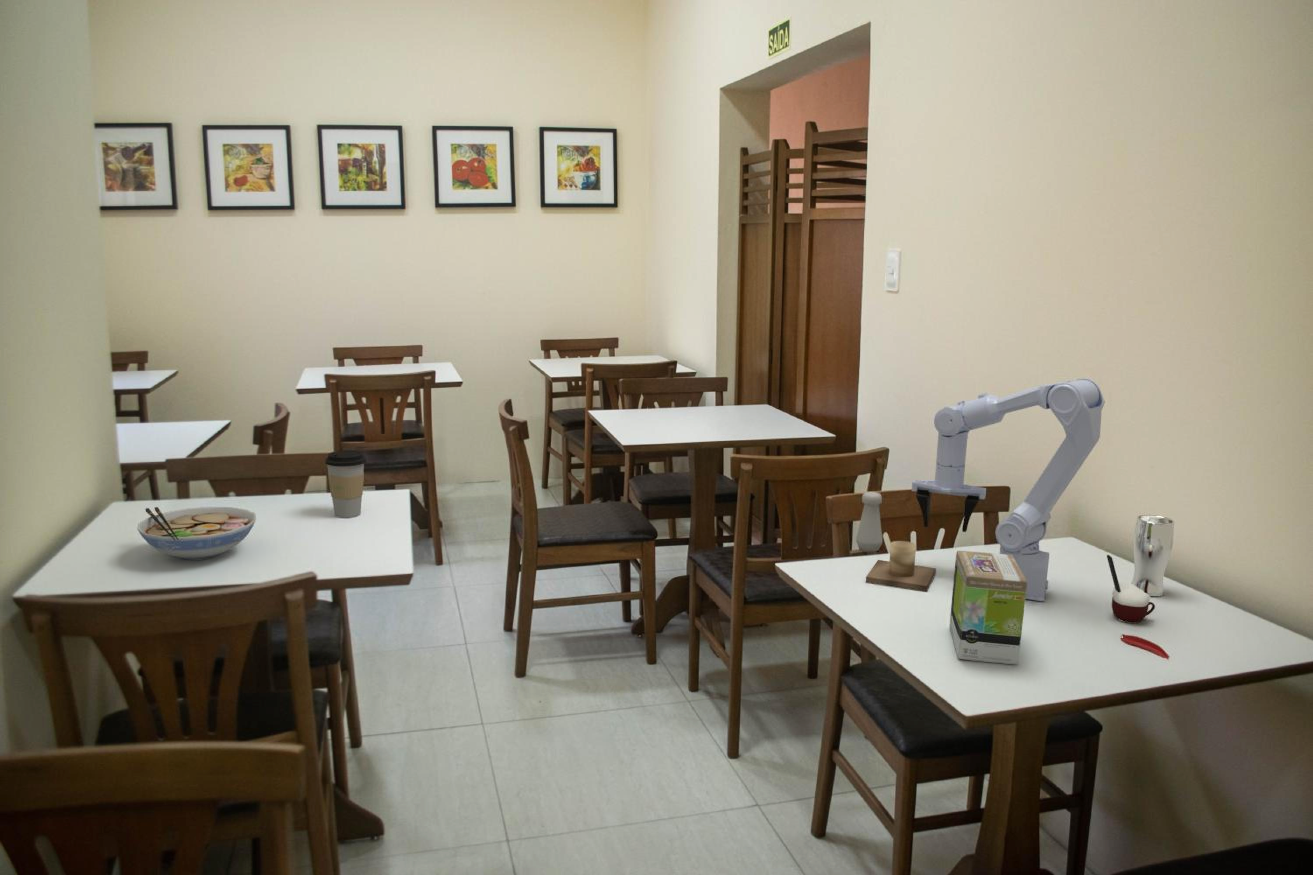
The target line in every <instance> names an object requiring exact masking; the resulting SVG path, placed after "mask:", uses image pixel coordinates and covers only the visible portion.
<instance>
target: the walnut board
mask: <svg viewBox="0 0 1313 875" xmlns="http://www.w3.org/2000/svg"><path fill="white" fill-rule="evenodd" d="M889 562H890V560H882V559H877V561H876V562H875V564H874V565H873V566H872V568H871V569H870V571H869V572H868V574H866V577H865V583H866V584H874V585H881V586H885V587H887V586H888V587H894V588H900V589H906V590H913V591H920V592H925V593H926V592H927V591H928V589H929V588H930V585H932V584H931V583H932V581H933V580H934V578H935V576H936V573H937V568H936V567H930V566H923V565H917V564H916V565H915V567H914V575H913V576H910V577H899V576H895V575H892V574H890V573H889Z"/></svg>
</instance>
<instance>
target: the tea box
mask: <svg viewBox="0 0 1313 875" xmlns="http://www.w3.org/2000/svg"><path fill="white" fill-rule="evenodd" d="M955 554H956V555H955V562H954V564H955V565H954V576H953V585H952V594H951V605H950V615H949V616H950V617H949V628H950V632H951V636H952V640H953V644H954V647H955V651H956V656H957V659H959V660H966V661H972V662H983V663H995V664H1003V665H1018V663H1019V659H1020V658H1019V657H1020V650H1021V649H1020V648H1021V639H1022V633H1023V623H1024V616H1025V605H1026V599H1025V598H1026V589H1027V581H1026V578H1025V577H1024V574H1023V573H1022V571H1021V569H1020V568H1019V566H1018V564H1017V562H1016V560H1015V559H1014V557H1013V555H1007V554H1000V553H994V552H993V553H992V552H981V551H971V550H970V551H969V550H956V553H955Z"/></svg>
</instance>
